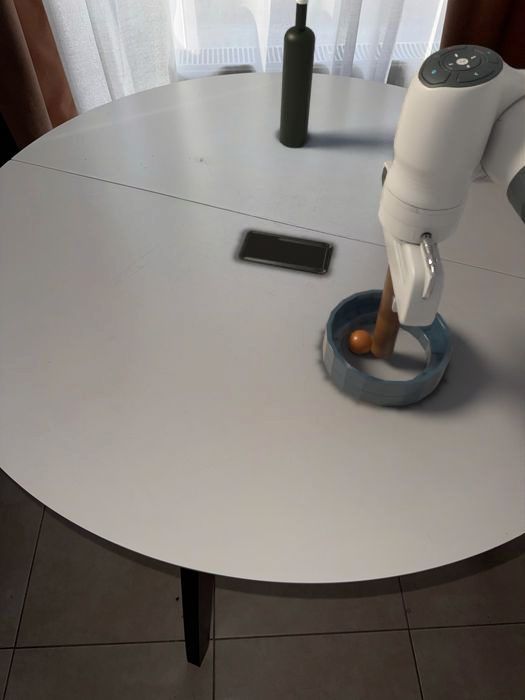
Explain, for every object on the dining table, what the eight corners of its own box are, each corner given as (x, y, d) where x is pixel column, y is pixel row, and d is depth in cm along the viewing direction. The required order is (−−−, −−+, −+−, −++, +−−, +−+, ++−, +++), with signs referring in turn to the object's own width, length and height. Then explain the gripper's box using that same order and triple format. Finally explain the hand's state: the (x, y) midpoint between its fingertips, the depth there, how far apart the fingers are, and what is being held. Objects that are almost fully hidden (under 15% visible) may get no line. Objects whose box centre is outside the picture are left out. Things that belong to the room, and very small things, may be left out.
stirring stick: (392, 341, 84) (413, 258, 72) (394, 358, 82) (416, 275, 70) (369, 340, 84) (387, 257, 72) (371, 358, 82) (389, 275, 70)
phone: (325, 274, 95) (236, 258, 97) (324, 279, 96) (236, 263, 98) (332, 243, 100) (248, 228, 102) (332, 248, 100) (248, 233, 102)
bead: (368, 340, 87) (374, 326, 84) (370, 360, 85) (377, 346, 82) (344, 338, 87) (350, 323, 84) (346, 358, 85) (352, 344, 82)
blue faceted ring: (430, 317, 91) (440, 290, 86) (451, 411, 80) (463, 386, 75) (319, 314, 91) (323, 287, 86) (325, 408, 80) (330, 383, 75)
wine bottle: (286, 130, 124) (295, -29, 101) (311, 137, 123) (325, -23, 99) (274, 143, 121) (280, -18, 97) (299, 150, 119) (312, -12, 96)
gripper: (468, 273, 57) (433, 359, 68) (433, 155, 70) (408, 243, 81) (405, 271, 57) (380, 357, 68) (381, 154, 70) (363, 242, 81)
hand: (395, 294), depth 75 cm, fingers closed on stirring stick, 3 cm apart
